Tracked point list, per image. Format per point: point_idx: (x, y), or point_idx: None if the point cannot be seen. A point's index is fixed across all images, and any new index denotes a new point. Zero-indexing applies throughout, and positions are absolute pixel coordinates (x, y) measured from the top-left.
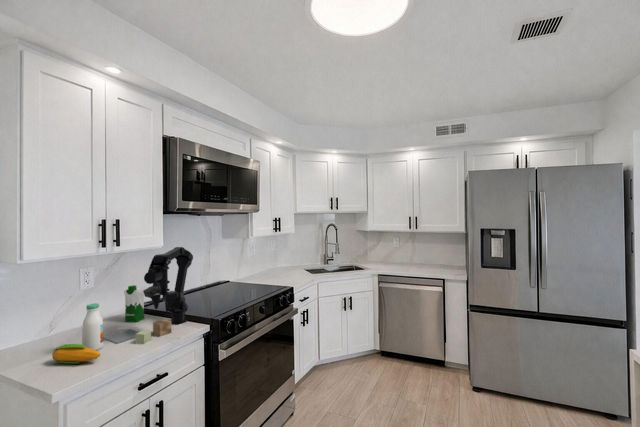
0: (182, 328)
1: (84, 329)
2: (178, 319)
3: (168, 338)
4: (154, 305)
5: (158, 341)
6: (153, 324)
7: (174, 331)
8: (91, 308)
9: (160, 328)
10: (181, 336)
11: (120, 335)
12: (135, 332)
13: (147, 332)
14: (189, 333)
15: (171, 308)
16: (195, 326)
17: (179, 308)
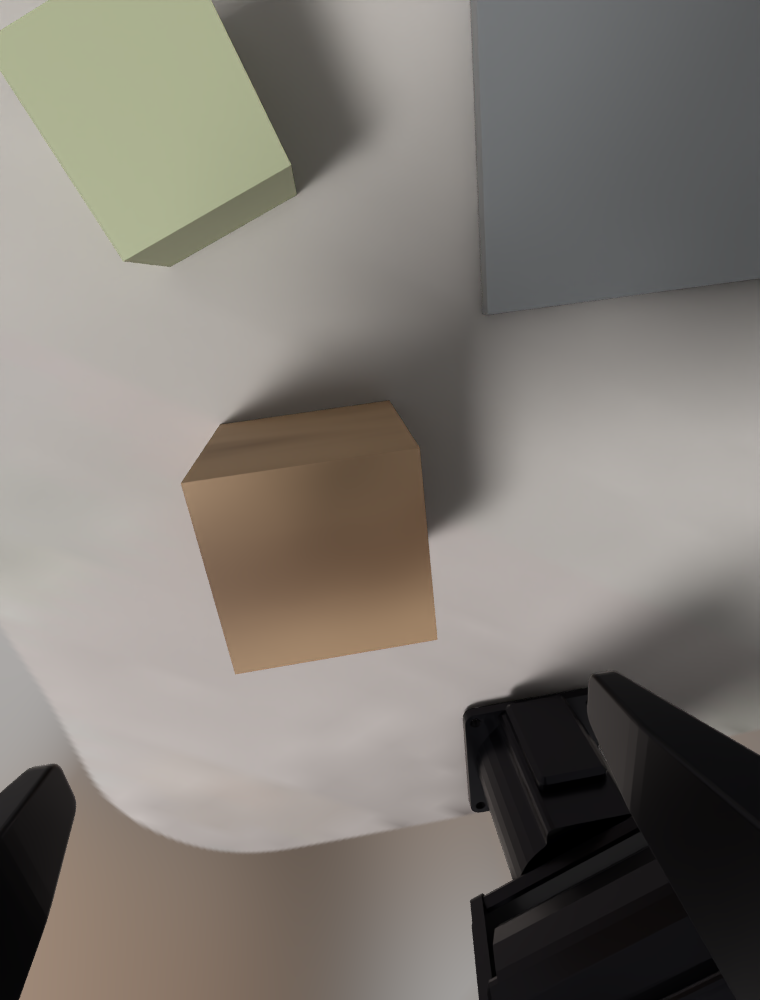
0: (298, 701)
1: None
2: (497, 771)
3: (60, 461)
4: (687, 741)
5: (32, 317)
6: (401, 440)
7: None
8: None
9: (197, 461)
10: (15, 593)
11: (744, 9)
12: (644, 250)
13: (83, 171)
14: (58, 687)
15: (621, 875)
16: (246, 800)
17: (494, 943)
